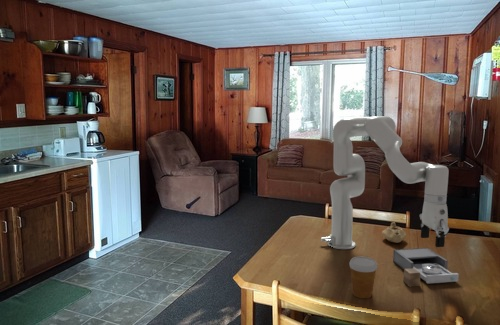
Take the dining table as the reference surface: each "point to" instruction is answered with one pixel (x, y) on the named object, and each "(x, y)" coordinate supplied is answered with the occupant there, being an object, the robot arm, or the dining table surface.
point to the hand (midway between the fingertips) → (431, 242)
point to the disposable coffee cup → (363, 276)
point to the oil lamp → (394, 233)
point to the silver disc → (430, 269)
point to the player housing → (417, 257)
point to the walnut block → (412, 277)
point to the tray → (437, 275)
